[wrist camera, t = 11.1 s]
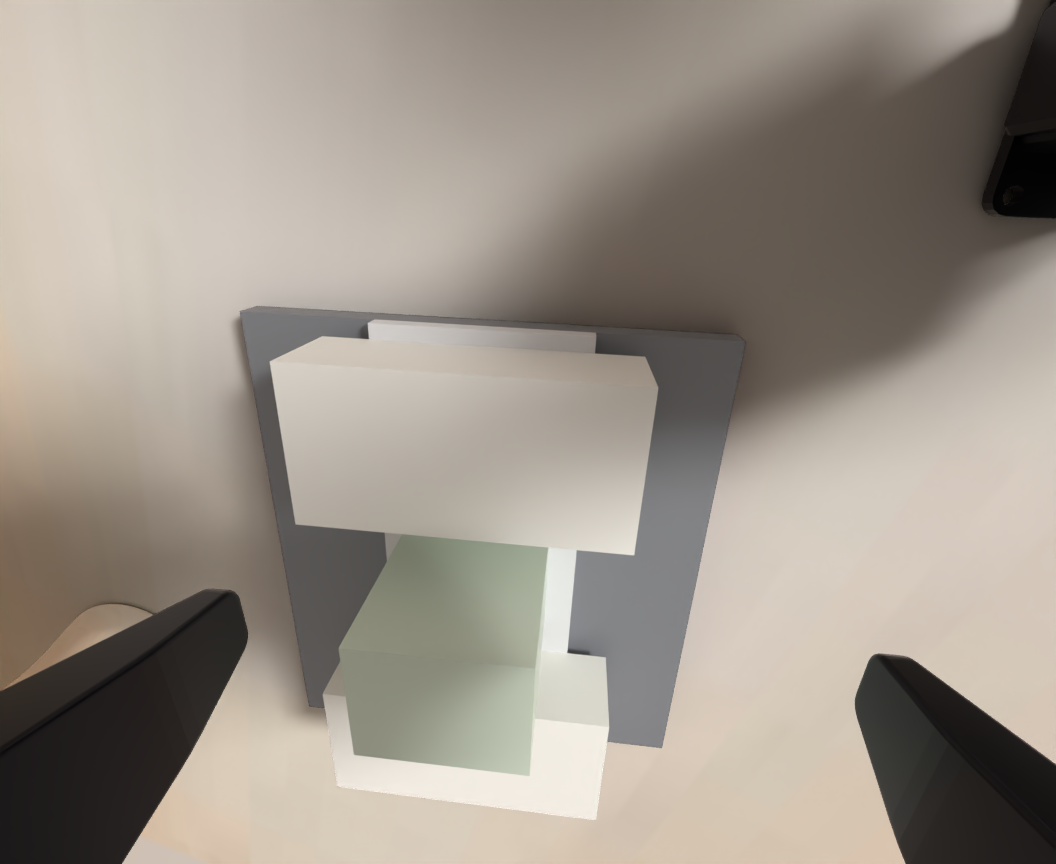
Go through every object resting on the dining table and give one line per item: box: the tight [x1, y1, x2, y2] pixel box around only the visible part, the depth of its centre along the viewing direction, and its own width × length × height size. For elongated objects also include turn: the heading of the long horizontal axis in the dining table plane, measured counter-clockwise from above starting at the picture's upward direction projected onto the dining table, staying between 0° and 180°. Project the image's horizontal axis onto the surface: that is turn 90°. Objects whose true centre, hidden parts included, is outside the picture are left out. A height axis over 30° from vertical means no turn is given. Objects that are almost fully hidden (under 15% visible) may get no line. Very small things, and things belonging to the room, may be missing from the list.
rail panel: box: [240, 306, 746, 820], centre depth 19 cm, size 16×18×5 cm
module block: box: [339, 534, 549, 776], centre depth 17 cm, size 5×4×6 cm
